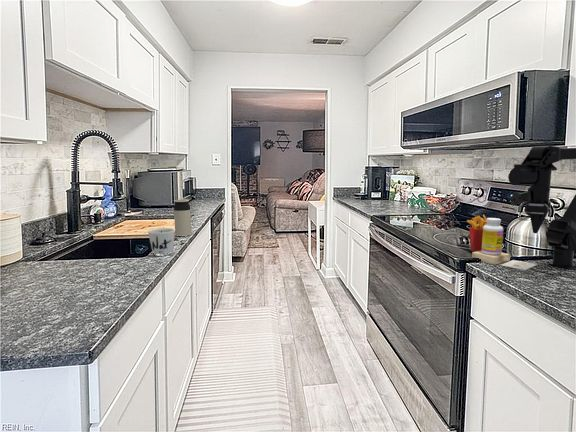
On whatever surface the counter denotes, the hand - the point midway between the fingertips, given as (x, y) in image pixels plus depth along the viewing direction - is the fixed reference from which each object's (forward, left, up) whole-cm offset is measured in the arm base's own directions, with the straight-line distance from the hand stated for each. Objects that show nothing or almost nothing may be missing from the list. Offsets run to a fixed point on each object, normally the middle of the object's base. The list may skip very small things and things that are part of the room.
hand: (536, 230), depth 135 cm
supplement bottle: (+2, -14, -11) cm, 18 cm away
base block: (+2, -15, -13) cm, 20 cm away
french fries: (-4, -25, -13) cm, 29 cm away
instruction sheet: (0, -5, -13) cm, 14 cm away
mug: (+105, -91, -13) cm, 139 cm away
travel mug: (+88, -124, -13) cm, 152 cm away
